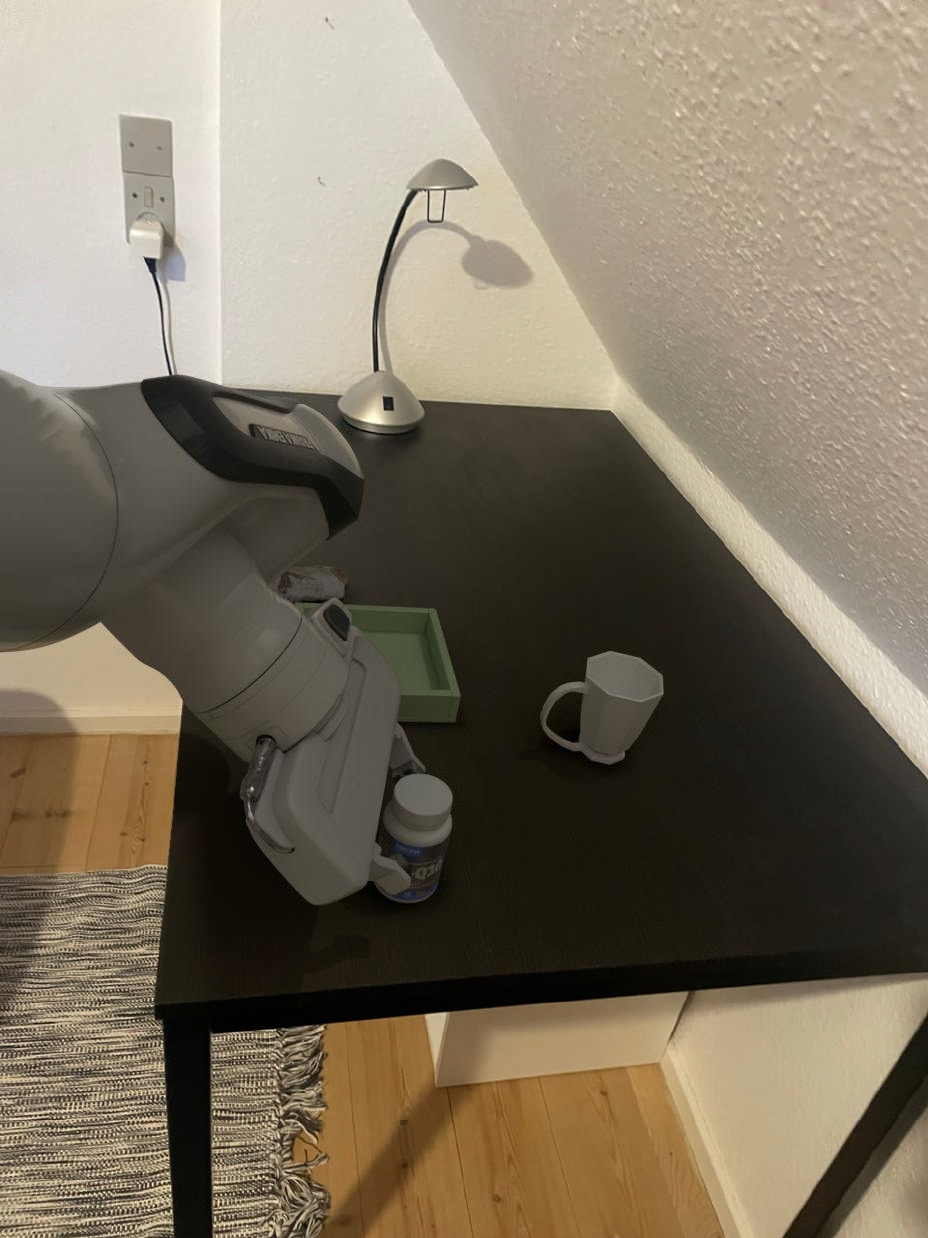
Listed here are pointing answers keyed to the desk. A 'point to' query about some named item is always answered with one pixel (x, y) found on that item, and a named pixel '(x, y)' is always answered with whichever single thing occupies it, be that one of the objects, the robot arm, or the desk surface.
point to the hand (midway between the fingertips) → (410, 829)
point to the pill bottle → (417, 832)
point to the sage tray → (411, 658)
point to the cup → (610, 705)
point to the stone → (311, 584)
